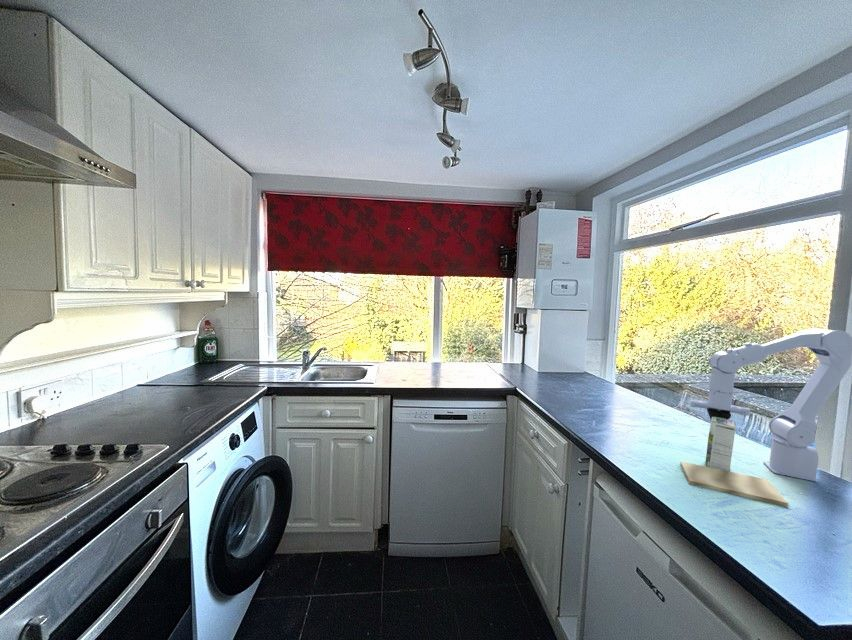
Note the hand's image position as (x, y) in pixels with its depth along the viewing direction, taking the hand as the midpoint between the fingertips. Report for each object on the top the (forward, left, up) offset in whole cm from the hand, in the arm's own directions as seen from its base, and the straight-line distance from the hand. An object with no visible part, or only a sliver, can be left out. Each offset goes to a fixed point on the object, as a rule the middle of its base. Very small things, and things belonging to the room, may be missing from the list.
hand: (716, 432), depth 112 cm
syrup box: (0, +5, -9) cm, 10 cm away
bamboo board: (0, +16, -9) cm, 18 cm away
